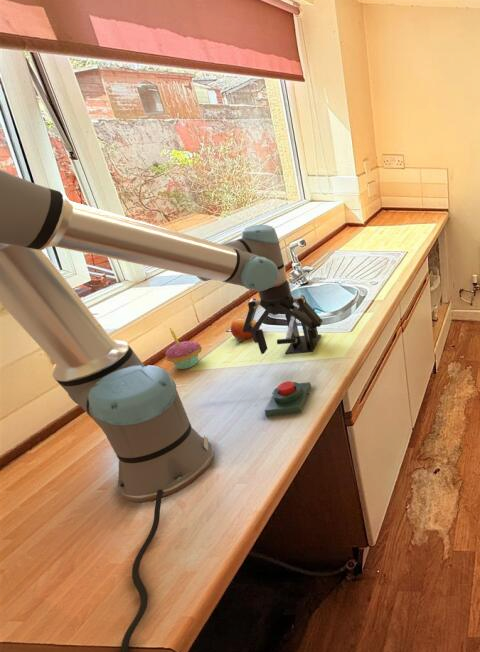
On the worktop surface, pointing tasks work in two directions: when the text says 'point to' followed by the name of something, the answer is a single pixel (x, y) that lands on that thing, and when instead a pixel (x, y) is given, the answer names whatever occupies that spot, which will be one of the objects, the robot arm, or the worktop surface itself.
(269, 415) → the button box
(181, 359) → the cupcake
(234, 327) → the fruit
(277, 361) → the worktop surface
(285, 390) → the button
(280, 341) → the lever
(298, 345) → the bracket
